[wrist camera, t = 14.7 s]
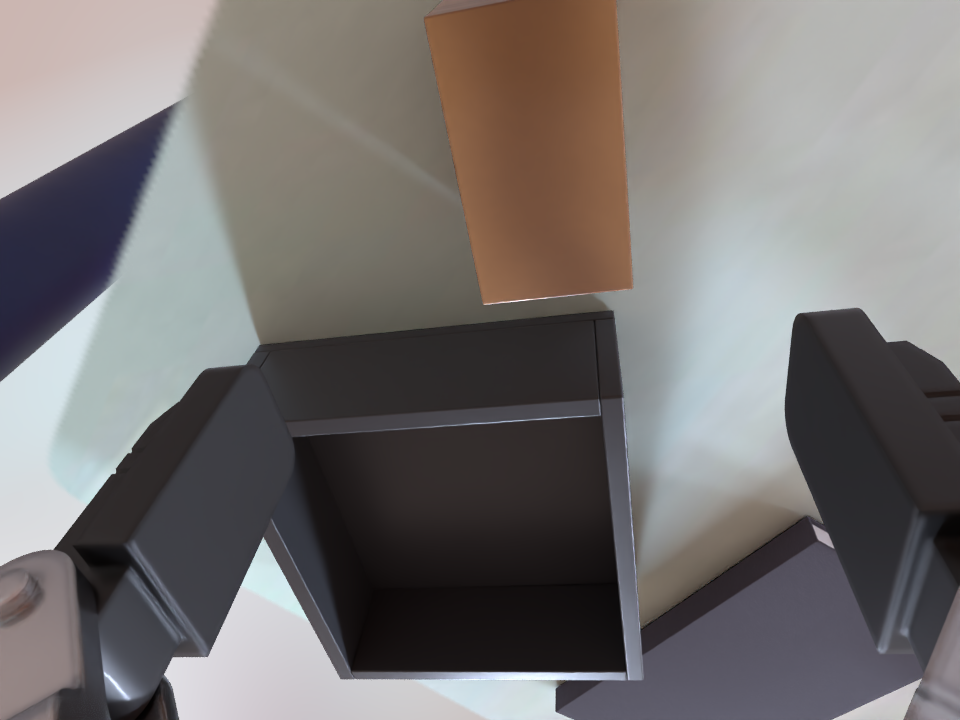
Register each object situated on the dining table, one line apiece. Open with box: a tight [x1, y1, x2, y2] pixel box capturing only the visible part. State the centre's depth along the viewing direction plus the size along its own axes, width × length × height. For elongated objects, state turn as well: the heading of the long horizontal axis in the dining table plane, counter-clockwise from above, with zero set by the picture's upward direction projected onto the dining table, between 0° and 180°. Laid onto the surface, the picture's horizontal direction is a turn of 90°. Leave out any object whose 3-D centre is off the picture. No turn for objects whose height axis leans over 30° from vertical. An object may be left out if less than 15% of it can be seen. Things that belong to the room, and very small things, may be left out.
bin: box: [246, 311, 644, 680], centre depth 31 cm, size 16×18×6 cm
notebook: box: [556, 516, 924, 720], centre depth 39 cm, size 13×2×21 cm
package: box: [424, 0, 633, 305], centre depth 20 cm, size 4×8×6 cm, turn 11°
